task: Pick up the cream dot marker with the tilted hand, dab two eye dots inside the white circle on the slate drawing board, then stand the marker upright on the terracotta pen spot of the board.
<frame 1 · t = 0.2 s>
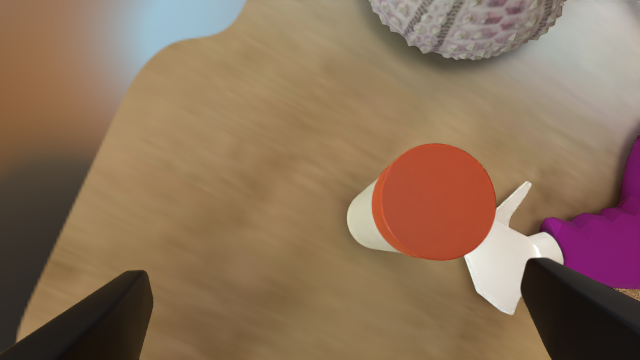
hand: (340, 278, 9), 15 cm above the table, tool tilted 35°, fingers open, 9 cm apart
spray bottle: (637, 207, 25), on the table
marker: (374, 219, 24), on the table
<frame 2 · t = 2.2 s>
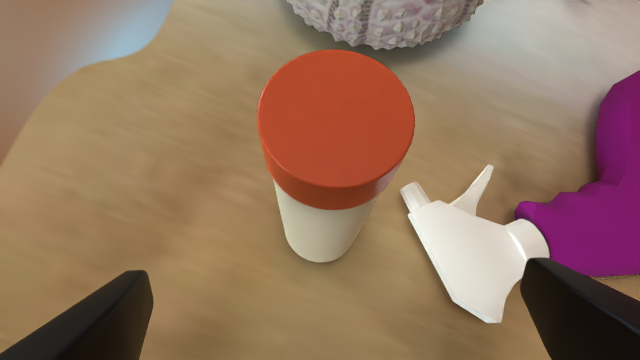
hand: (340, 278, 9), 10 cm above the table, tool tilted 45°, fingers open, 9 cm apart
spray bottle: (620, 186, 22), on the table
marker: (320, 230, 20), on the table
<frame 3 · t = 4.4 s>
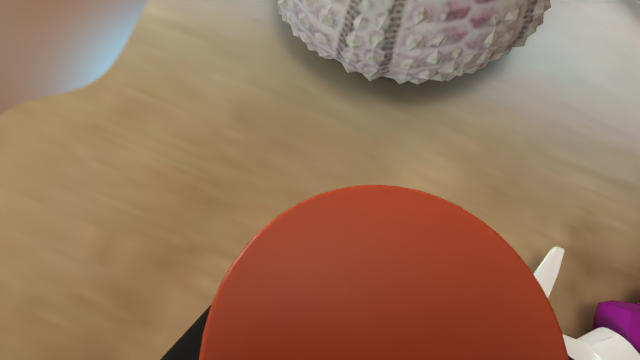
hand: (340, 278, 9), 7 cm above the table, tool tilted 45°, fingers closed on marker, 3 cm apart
sea urchin shell: (395, 1, 21), on the table
marker: (327, 336, 15), on the table, touching gripper
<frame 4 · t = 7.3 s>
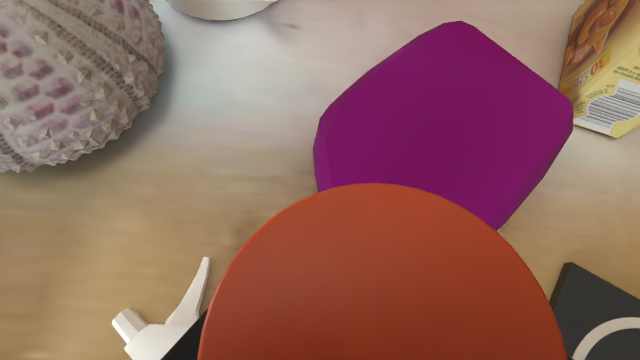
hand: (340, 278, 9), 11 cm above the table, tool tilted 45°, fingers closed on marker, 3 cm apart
spray bottle: (358, 216, 22), on the table
candy box: (589, 74, 25), on the table
sea urchin shell: (68, 82, 24), on the table
marker: (327, 335, 15), point 4 cm above the table, touching gripper
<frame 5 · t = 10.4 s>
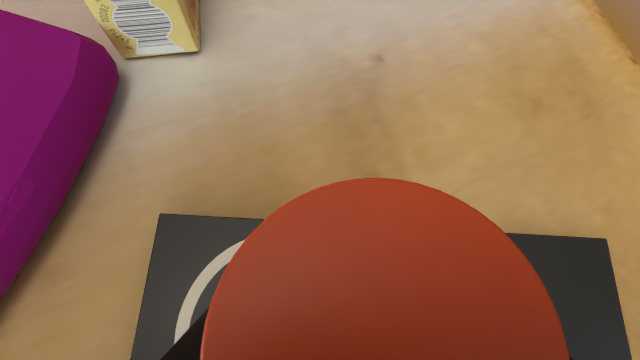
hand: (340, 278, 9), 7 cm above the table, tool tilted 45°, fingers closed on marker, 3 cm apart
marker: (328, 337, 15), point 1 cm above the table, touching board, gripper
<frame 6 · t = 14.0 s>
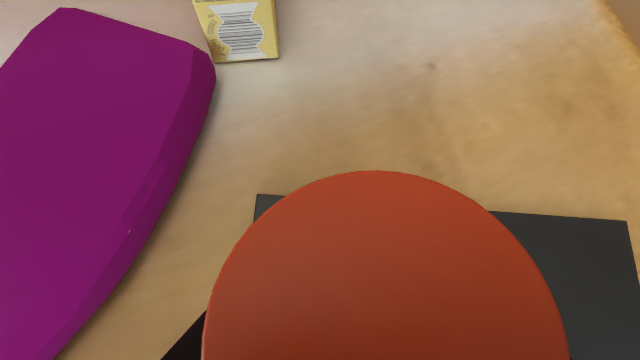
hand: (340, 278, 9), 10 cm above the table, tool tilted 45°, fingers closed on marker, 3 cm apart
spray bottle: (37, 250, 20), on the table
candy box: (242, 7, 25), on the table
marker: (328, 343, 15), point 4 cm above the table, touching gripper
when the fingers open (7 cm above the table, at t = 16.6 s): marker stays where it is, resting on board.
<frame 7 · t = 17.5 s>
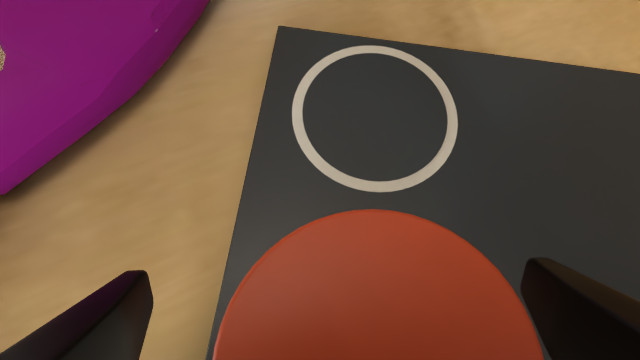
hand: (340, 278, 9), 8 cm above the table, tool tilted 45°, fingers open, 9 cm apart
board: (451, 228, 18), on the table
spray bottle: (67, 62, 20), on the table
marker: (327, 340, 15), point 1 cm above the table, touching board
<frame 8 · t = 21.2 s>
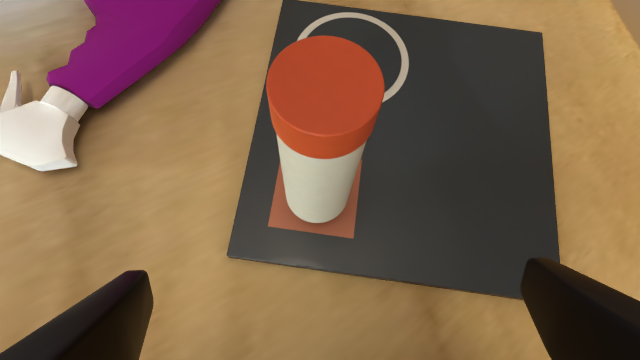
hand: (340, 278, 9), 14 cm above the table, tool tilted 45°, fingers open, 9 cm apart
board: (402, 134, 26), on the table
spray bottle: (132, 24, 29), on the table
marker: (316, 197, 24), point 1 cm above the table, touching board
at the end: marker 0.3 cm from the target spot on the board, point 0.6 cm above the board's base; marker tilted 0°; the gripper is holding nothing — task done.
